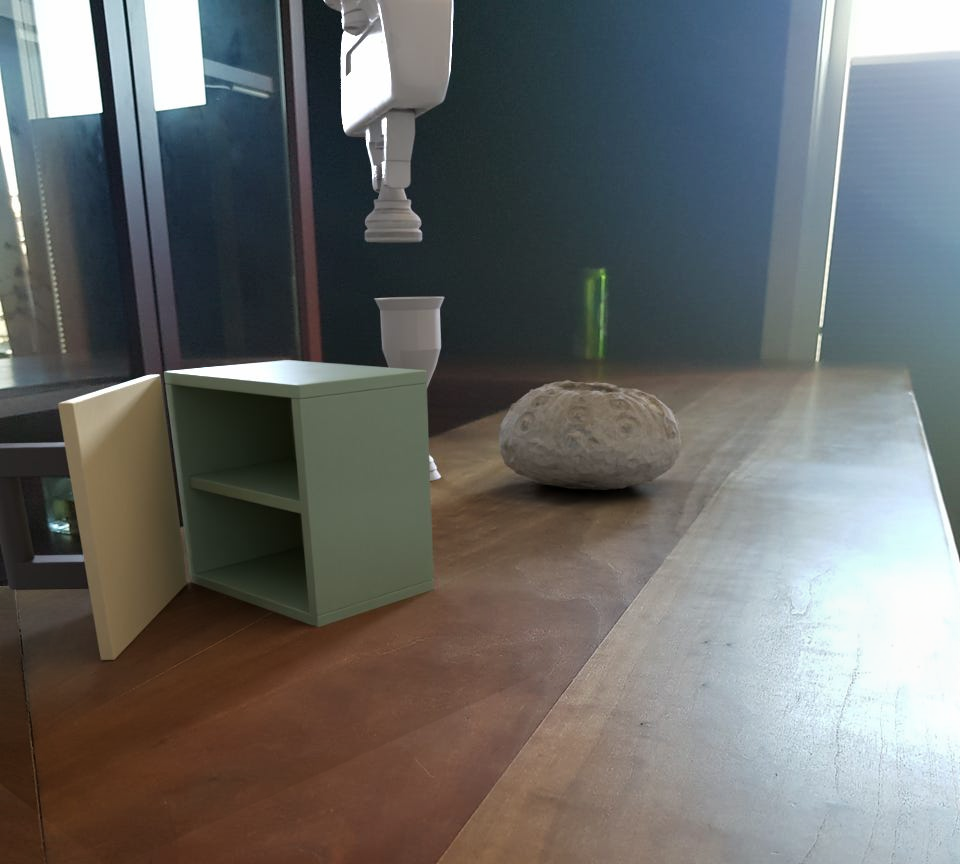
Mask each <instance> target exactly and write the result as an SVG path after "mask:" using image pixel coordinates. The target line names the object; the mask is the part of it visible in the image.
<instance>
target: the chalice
mask: <svg viewBox="0 0 960 864" xmlns="http://www.w3.org/2000/svg"><path fill="white" fill-rule="evenodd" d="M444 299H445V296H397V297H395V296H393V297H379V298H374V301H375V303H376V305H377V307H378V309H379V310H380V311H379V314H380V315H379V316H380V332H381V334H380V335H381V351H382V353H383V355H384V358H385V361H386V363H387V366H388V367H387V368H401V369H414V370H425V371H426V384H427V388H428V387H429V384H430V382H431V379H432V377H433V374H434V372H435V371H436V367H437V364H438V361H439V357H440V353H441V349H442V337H441V336H442V335H441V334H442V333H441V306H442V305H443V302H444ZM434 461H435V460H434V458H433V457H432V456H431V455H430V454H429V463H430V482H432V481H436V480H439V479H441V478H442V476H441V474H440V473H439V471H438V470H437V469H438V466H437V465H436V464H435V462H434Z"/></svg>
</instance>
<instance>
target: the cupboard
mask: <svg viewBox="0 0 960 864" xmlns="http://www.w3.org/2000/svg"><path fill="white" fill-rule="evenodd" d="M163 376H164V384H165V393H166V400H167V409H168V415H169V423H170V430H171V439H172V446H173V454H174V462H175V471H176V477H177V486H178V493H179V501H180V509H181V516H182V524H183V525H182V526H183V531H184V532H183V534H184V540H185V547H186V556H187V563H188V571H189V579H190V583H192V584H195V585H198V586H200V587H203V588H206V589H209V590H212V591H215V592H218V593H220V594H223V595H226V596H228V597H232V598H235V599H237V600H240V601H244V602H246V603H248V604H251V605H254V606H257V607H259V608H263V609H266V610H268V611H271V612H274V613H277V614H280V615H282V616H285V617H288V618H291V619H293V620H296V621H299V622H301V623H305V624H308V625H310V626H313V627H316V628H320V627H323V626H326V625H329V624H334V623H335V622H339V621H341V620H344V619H348V618H351V617H353V616H356V615H360V614H363V613H366V612H369V611H373V610H375V609H378V608H382V607H385V606H387V605H390V604H394V603H397V602H400V601H402V600H406V599H409V598H411V597H414V596H418V595H421V594H424V593H427V592H431V591H433V590H434V589H435V580H434V579H435V576H434V575H435V574H434V573H435V572H434V549H433V546H434V545H433V544H434V543H433V522H432V521H433V520H432V497H431V495H432V494H431V491H432V490H431V481H430V463H429V455H430V439H429V437H430V436H429V411H428V387H427V384H426V371H425V370H414V369H401V368H389V367H386V366H385V367H384V366H371V365H361V364H360V365H358V364H347V363H346V364H345V363H333V362H318V361H305V360H304V361H303V360H291V359H283V360H275V361H274V360H273V361H264V362H263V361H262V362H251V363H242V364H229V365H219V366H209V367H198V368H197V367H196V368H187V369H186V368H185V369H178V370H177V369H176V370H167V371H166V370H165V371H164V372H163Z"/></svg>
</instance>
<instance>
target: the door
mask: <svg viewBox="0 0 960 864" xmlns="http://www.w3.org/2000/svg"><path fill="white" fill-rule="evenodd" d="M161 377H162V376H161V374H148V375H143V376H141V377H138V378H135V379H131V380H128V381H125V382H122V383H119V384H115V385H112V386H109V387H106V388H103V389H99V390H96V391H93V392H90V393H89V392H88V393H86V394H83V395H79V396H77V397H74V398H70V399H67V400H64V401H60V402H57V406H58V412H59V417H60V418H59V420H60V424H61V430H62V436H63V437H62V438H63V441H61V442H60V441H59V442H18V443H17V442H16V443H15V442H13V443H12V442H11V443H10V442H8V443H7V442H5V443H0V549H1V554H2V558H3V564H4V568H5V574H6V579H7V584H8V588H9V589H10V590H12V591H30V590H31V591H39V590H43V591H44V590H48V591H49V590H88V592H89V597H90V603H91V609H92V614H93V621H94V626H95V633H96V640H97V645H98V652H99V657H100V661H115V660H116V659H117V658H118V657H119V656H120V655H121V654H122V652H123V651H125V650H126V649H127V647H128V646H129V645H130V644H131V643H132V642H133V641H134V640H135V639H136V638H137V637H138V635H140V634H141V633H142V632H143V630H144V629H145V628H147V627H148V625H149V624H150V623H151V622H152V621H154V619H155V618H156V617H157V616H158V615H159V614H160V612H161V611H162V610H164V608H165V607H166V606H167V605H168V604H170V602H171V601H172V600H173V599H174V598H175V597H176V596H177V595H178V594H179V593H180V592H181V591H182V589H184V587H186V585H187V584H188V578H187V576H188V575H187V570H186V569H187V568H186V561H185V555H184V553H185V552H184V546H183V539H182V538H183V537H182V531H181V523H180V516H179V508H178V499H177V493H176V485H175V477H174V470H173V462H172V456H171V455H172V454H171V446H170V439H169V431H168V423H167V417H166V407H165V401H164V392H163V385H162V378H161ZM41 477H43V478H46V477H49V478H50V477H51V478H52V477H69V478H70V485H71V491H72V495H73V501H74V509H75V513H76V520H77V525H78V531H79V537H80V543H81V548H82V554H53V555H52V554H49V555H48V554H47V555H35V551H34V546H33V541H32V535H31V531H30V530H31V529H30V524H29V520H28V514H27V513H28V512H27V509H26V503H25V498H24V493H23V492H24V491H23V486H22V482H21V478H41Z"/></svg>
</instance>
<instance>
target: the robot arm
mask: <svg viewBox="0 0 960 864" xmlns="http://www.w3.org/2000/svg"><path fill="white" fill-rule="evenodd" d="M323 1H324V3H325V5H326V6H327V7H329V8H330V9H333V10H335V11H337V12H340V13H341V17H342V18H341V23H342V24H341V25H342V30H343V33H342V36H341V49H340V52H341V53H340V79H341V81H340V82H341V83H340V84H341V85H340V86H341V87H340V89H341V93H340V94H341V119H342V121H341V122H342V125H343V126H342V127H343V131H344V133H345V135H346V136H347V137H351V138H365V140H366V141H365V142H366V149H367V153H368V157H369V161H370V162H369V163H370V165H371V175H372V176H371V179H372V188H373V191H375V193H378V194H379V193H380V188H381V182H382V172H383V184H384V186H385V187H386V188H387V189H403V188H404V189H406V188H409V186H410V185H411V180H412V179H411V178H412V177H411V160H412V154H413V150H414V149H413V148H414V142H415V136H416V119H417V118H418V117H420V116H422V115H423V114H425V113H427V112H428V111H430V110H432V109H433V108H435V107H437V106H439V105H440V104H442V103H443V102H444V101H445V98H446V95H447V91H448V87H449V81H450V75H451V65H452V44H453V21H454V0H323ZM380 116H382V127H381V124H380V121H379V119H378V118H379V117H380ZM380 133H383V134H384V162H383V150H378V149H376V148H375V142H377V141H379V139H380V138H381V136H380Z"/></svg>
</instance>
